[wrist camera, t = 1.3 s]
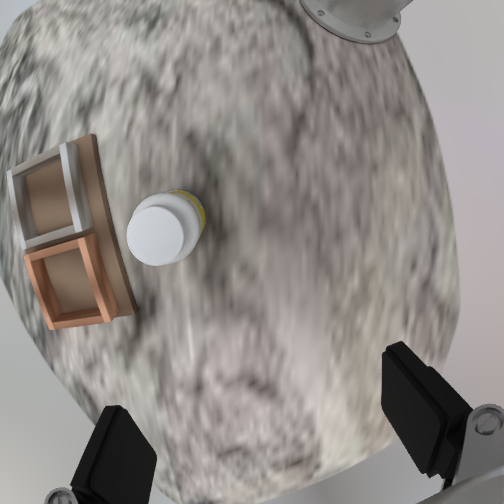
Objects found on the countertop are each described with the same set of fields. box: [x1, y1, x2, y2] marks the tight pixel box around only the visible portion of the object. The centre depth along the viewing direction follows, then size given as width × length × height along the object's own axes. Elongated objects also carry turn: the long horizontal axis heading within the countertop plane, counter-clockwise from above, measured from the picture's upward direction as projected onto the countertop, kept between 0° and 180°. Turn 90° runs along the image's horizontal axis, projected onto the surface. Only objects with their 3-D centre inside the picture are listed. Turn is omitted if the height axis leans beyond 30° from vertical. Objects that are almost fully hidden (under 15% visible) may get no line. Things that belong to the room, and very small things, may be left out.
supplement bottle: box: [127, 190, 206, 266], centre depth 23 cm, size 5×5×10 cm
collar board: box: [7, 134, 138, 330], centre depth 26 cm, size 19×12×4 cm, turn 11°
